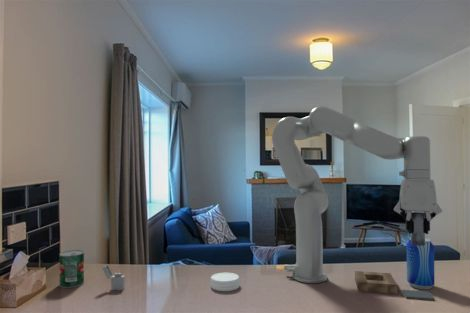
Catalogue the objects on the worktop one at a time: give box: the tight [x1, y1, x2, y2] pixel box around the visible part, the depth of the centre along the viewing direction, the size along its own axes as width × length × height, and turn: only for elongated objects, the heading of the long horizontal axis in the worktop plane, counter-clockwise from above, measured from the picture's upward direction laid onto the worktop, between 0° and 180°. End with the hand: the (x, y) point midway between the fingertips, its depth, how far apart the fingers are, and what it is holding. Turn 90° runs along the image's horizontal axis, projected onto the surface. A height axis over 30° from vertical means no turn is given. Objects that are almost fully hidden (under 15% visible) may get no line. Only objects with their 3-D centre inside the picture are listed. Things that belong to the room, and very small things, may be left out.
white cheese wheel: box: [210, 272, 241, 292], centre depth 123 cm, size 10×10×4 cm
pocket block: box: [354, 270, 398, 295], centre depth 122 cm, size 12×12×3 cm
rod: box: [410, 211, 426, 246], centre depth 114 cm, size 4×4×10 cm
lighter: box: [102, 264, 126, 291], centre depth 121 cm, size 7×2×8 cm, turn 88°
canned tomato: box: [58, 249, 85, 289], centre depth 126 cm, size 8×8×11 cm
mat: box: [401, 289, 436, 301], centre depth 114 cm, size 8×6×1 cm
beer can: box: [406, 237, 435, 290], centre depth 123 cm, size 8×8×16 cm
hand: (417, 232), depth 114 cm, fingers closed on rod, 4 cm apart
